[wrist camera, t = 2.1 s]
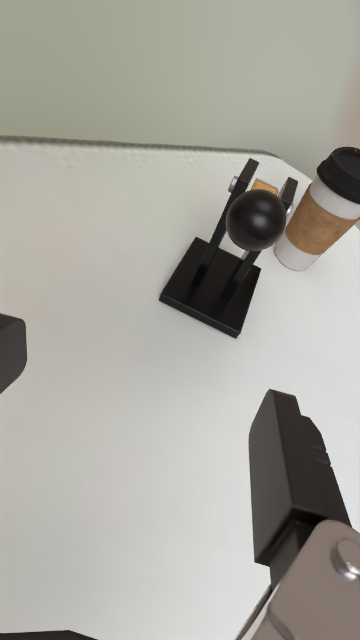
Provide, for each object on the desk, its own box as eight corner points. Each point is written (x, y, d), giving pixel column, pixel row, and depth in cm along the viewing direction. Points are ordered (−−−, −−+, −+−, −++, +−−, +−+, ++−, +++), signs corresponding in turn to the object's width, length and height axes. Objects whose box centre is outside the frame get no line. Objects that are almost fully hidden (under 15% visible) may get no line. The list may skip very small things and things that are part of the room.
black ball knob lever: (266, 268, 18) (301, 211, 16) (212, 242, 18) (240, 181, 16) (267, 221, 29) (287, 184, 28) (235, 205, 30) (253, 168, 28)
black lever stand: (235, 339, 34) (315, 241, 22) (158, 300, 34) (196, 184, 22) (257, 274, 41) (325, 175, 29) (193, 243, 41) (235, 132, 30)
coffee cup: (324, 263, 47) (406, 175, 35) (300, 286, 42) (385, 193, 30) (283, 231, 49) (347, 137, 37) (256, 249, 44) (319, 149, 32)
